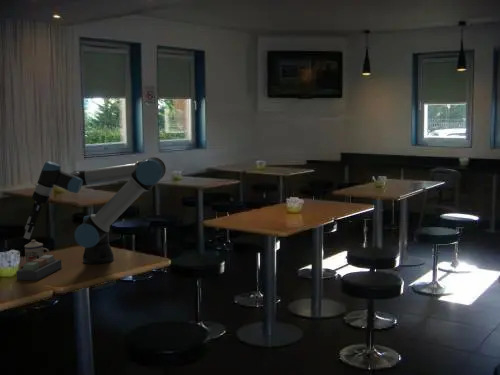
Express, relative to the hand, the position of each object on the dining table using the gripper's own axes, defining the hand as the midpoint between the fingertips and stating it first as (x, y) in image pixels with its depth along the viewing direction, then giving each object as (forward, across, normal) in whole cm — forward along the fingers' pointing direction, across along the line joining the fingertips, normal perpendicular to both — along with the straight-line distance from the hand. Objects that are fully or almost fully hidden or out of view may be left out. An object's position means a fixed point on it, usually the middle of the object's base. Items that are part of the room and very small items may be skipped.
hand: (27, 233), depth 302 cm
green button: (+11, +18, +6) cm, 22 cm away
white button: (+9, +6, +13) cm, 17 cm away
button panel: (+13, +12, +11) cm, 21 cm away
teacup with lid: (+16, -11, +11) cm, 23 cm away
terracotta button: (+10, +12, +10) cm, 18 cm away
